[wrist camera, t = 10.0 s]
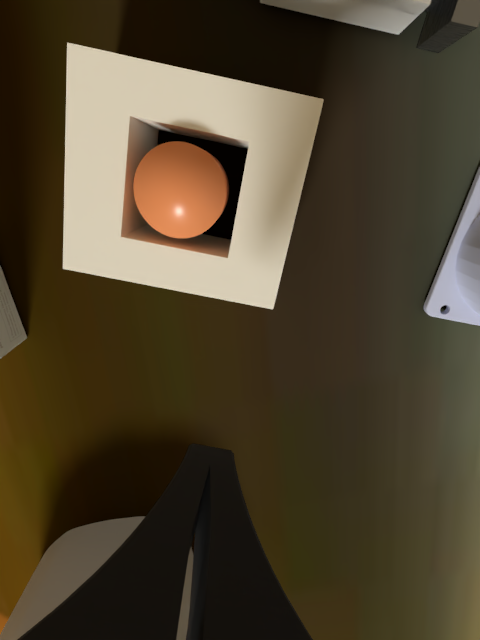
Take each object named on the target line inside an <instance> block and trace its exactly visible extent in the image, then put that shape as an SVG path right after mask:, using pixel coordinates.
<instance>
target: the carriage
mask: <svg viewBox="0 0 480 640" xmlns="http://www.w3.org/2000/svg"><path fill="white" fill-rule="evenodd" d="M260 3H263V4H267V5H271V6H276V7H280V8H284V9H289V10H293V11H297V12H302V13H306V14H310V15H315V16H319V17H323V18H328V19H332V20H336V21H341V22H345V23H349V24H354V25H358V26H362V27H367V28H371V29H375V30H380V31H384V32H388V33H393V34H397V35H399V34H400V33H401V32H402V31H403V30H404V29H405V28H406V27H407V26H408V25H409V24H410V23H411V22H412V21H413V20H414V19H415V18H416V17H418V16H419V15H420V14H421V13H422V12H423V11H424V10H425V9H426V8H427V7H428V6H429V5H430V3H431V0H260Z"/></svg>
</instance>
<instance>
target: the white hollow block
mask: <svg viewBox="0 0 480 640" xmlns="http://www.w3.org/2000/svg"><path fill="white" fill-rule="evenodd" d="M323 101H324V99H320V98H316V97H311V96H307V95H302V94H298V93H293V92H289V91H284V90H280V89H275V88H271V87H266V86H262V85H257V84H252V83H248V82H243V81H239V80H234V79H230V78H225V77H221V76H216V75H212V74H207V73H203V72H198V71H194V70H189V69H185V68H180V67H176V66H171V65H166V64H162V63H157V62H153V61H148V60H144V59H139V58H135V57H130V56H126V55H121V54H117V53H112V52H108V51H103V50H99V49H94V48H90V47H85V46H80V45H76V44H71V43H67V79H66V132H65V185H64V238H63V269H67V270H72V271H77V272H82V273H88V274H93V275H98V276H103V277H108V278H113V279H119V280H124V281H129V282H134V283H139V284H144V285H149V286H155V287H160V288H165V289H170V290H175V291H180V292H186V293H191V294H196V295H201V296H206V297H211V298H217V299H222V300H227V301H232V302H237V303H242V304H247V305H253V306H258V307H263V308H268V309H273V307H274V303H275V299H276V295H277V291H278V287H279V283H280V279H281V274H282V270H283V266H284V262H285V258H286V254H287V250H288V246H289V241H290V237H291V233H292V229H293V225H294V221H295V217H296V213H297V208H298V204H299V200H300V196H301V192H302V188H303V184H304V180H305V175H306V171H307V167H308V163H309V159H310V155H311V151H312V147H313V142H314V138H315V134H316V130H317V126H318V122H319V118H320V114H321V109H322V105H323ZM159 130H162V131H167V132H171V133H176V134H181V135H185V136H190V137H195V138H200V139H204V140H209V141H214V142H218V143H223V144H228V145H232V146H237V147H242V148H246V149H248V152H247V157H246V163H245V168H244V174H243V179H242V184H241V190H240V195H239V201H238V206H237V212H236V217H235V222H234V228H233V233H232V239H231V240H230V239H225V238H220V237H215V236H210V235H205V234H200V235H198V236H195V237H191V238H173V237H169V236H166V235H164V234H161V233H160V232H158V231H156V230H155V229H154V228H152V227H151V226H150V225H149V224H148V223H147V222H146V221H145V219H144V218H143V216H142V215H141V213H140V211H139V209H138V207H137V205H136V202H135V197H134V190H133V184H134V176H135V173H136V170H137V167H138V165H139V163H140V162H141V160H142V159H143V157H144V156H145V155H146V154H147V153H148V152H149V151H150V150H151V149H153V148H154V147H156V146H157V143H158V133H159Z"/></svg>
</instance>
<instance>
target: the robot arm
mask: <svg viewBox="0 0 480 640" xmlns="http://www.w3.org/2000/svg"><path fill="white" fill-rule="evenodd" d="M444 305H446V309H445V311H443V312H440V309H441V307H442V306H444ZM424 311H425V312H426V313H427V314H428V315H430V316H433V317H438V318H443V319H448V320H453V321H458V322H463V323H468V324H473V325H479V326H480V166H479V169H478V171H477V174H476V176H475V179H474V181H473V184H472V186H471V189H470V191H469V194H468V196H467V199H466V201H465V204H464V206H463V209H462V211H461V214H460V216H459V219H458V221H457V224H456V226H455V229H454V231H453V234H452V236H451V239H450V241H449V244H448V246H447V249H446V251H445V254H444V256H443V259H442V261H441V264H440V266H439V269H438V271H437V274H436V276H435V279H434V281H433V284H432V286H431V289H430V291H429V294H428V296H427V299H426V301H425V304H424ZM195 529H196V530H195ZM194 533H195V543H194V556H193V569H192V583H191V596H190V610H189V619H188V628H187V635H186V640H313V639H312V638H311V636H310V635H309V633H308V632H307V630H306V629H305V627H304V625H303V623H302V622H301V620H300V618H299V617H298V615H297V613H296V611H295V610H294V608H293V606H292V605H291V603H290V601H289V600H288V598H287V596H286V594H285V593H284V591H283V589H282V587H281V585H280V583H279V581H278V579H277V577H276V575H275V574H274V572H273V570H272V567H271V565H270V563H269V561H268V559H267V557H266V555H265V553H264V550H263V548H262V546H261V543H260V541H259V539H258V536H257V534H256V531H255V529H254V526H253V524H252V521H251V518H250V515H249V513H248V509H247V506H246V503H245V500H244V497H243V494H242V491H241V487H240V483H239V480H238V476H237V471H236V467H235V461H234V454H233V453H232V451H231V450H226V449H220V448H215V447H209V446H204V445H198V444H191V445H189V447H188V450H187V452H186V455H185V457H184V459H183V461H182V463H181V465H180V467H179V468H178V470H177V472H176V474H175V475H174V477H173V478H172V480H171V482H170V483H169V485H168V486H167V488H166V489H165V491H164V492H163V494H162V495H161V497H160V498H159V499H158V501H157V502H156V503H155V505H154V506H153V507H152V509H151V510H150V511H149V513H148V514H147V515H146V517H145V518H144V519H143V520H142V522H141V523H140V524H139V525H138V527H137V528H136V529H135V530H134V531H133V532H132V534H131V535H130V536H129V537H128V538H127V539H126V540H125V542H124V543H123V544H122V545H121V546H120V547H119V548H118V549H117V550H116V551H115V552H114V553H113V554H112V555H111V557H110V558H109V559H108V560H107V561H106V562H105V563H104V564H103V565H102V566H101V567H100V568H99V569H98V570H97V571H96V572H95V573H94V574H93V575H92V576H91V577H90V578H88V579H87V580H86V581H85V582H84V583H83V584H82V585H81V586H80V587H79V588H78V589H76V590H75V591H74V592H73V593H72V594H71V595H70V596H69V597H68V598H67V599H66V600H64V601H63V602H62V603H61V604H60V605H59V606H58V607H56V608H55V609H54V610H53V611H52V612H51V613H49V614H48V615H47V616H46V617H44V618H43V619H42V620H41V621H39V622H38V623H37V624H36V625H34V626H33V627H32V628H31V629H30V630H28V631H27V632H26V633H25V634H23V635H22V636H21V637H20V638H18V639H17V640H176V638H177V631H178V624H179V617H180V610H181V603H182V596H183V589H184V583H185V576H186V569H187V562H188V556H189V552H190V549H191V545H192V541H193V537H194Z"/></svg>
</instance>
